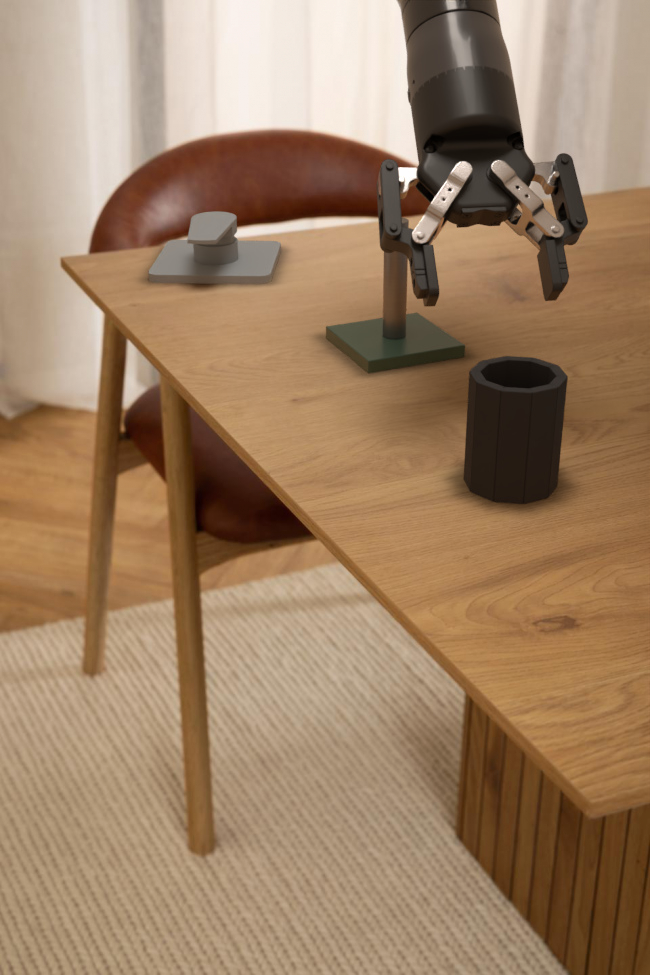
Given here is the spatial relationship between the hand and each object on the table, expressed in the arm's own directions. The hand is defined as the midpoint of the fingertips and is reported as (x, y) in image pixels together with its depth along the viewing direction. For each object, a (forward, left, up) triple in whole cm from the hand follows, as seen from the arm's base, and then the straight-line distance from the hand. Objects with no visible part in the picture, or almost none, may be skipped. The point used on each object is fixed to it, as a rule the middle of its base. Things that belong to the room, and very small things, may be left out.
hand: (493, 298), depth 81 cm
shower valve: (+17, -44, -11) cm, 49 cm away
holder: (+3, -19, -11) cm, 22 cm away
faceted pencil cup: (0, +7, -11) cm, 13 cm away
